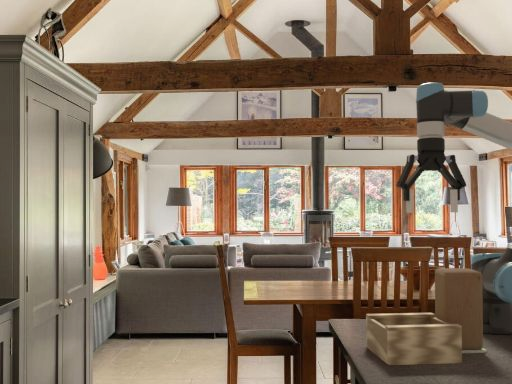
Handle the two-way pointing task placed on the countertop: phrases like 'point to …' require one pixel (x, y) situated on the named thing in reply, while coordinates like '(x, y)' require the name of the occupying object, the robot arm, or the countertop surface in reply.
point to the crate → (413, 339)
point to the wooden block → (461, 302)
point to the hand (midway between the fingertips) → (432, 212)
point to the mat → (474, 351)
